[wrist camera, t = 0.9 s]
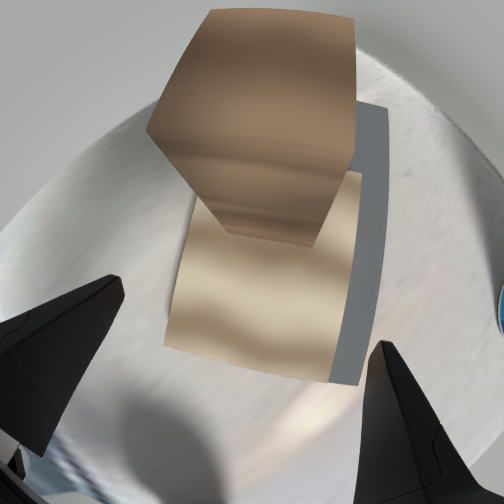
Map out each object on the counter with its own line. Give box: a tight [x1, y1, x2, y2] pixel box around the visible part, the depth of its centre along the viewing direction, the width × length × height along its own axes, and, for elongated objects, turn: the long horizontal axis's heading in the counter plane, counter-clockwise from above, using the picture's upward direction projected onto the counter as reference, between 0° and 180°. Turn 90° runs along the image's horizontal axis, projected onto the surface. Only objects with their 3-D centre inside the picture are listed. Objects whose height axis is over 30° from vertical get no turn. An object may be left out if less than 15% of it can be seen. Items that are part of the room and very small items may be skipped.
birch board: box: [164, 170, 362, 383], centre depth 21 cm, size 16×12×2 cm
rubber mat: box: [328, 101, 389, 386], centre depth 22 cm, size 26×15×1 cm, turn 168°
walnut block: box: [145, 8, 356, 248], centre depth 14 cm, size 7×6×13 cm
